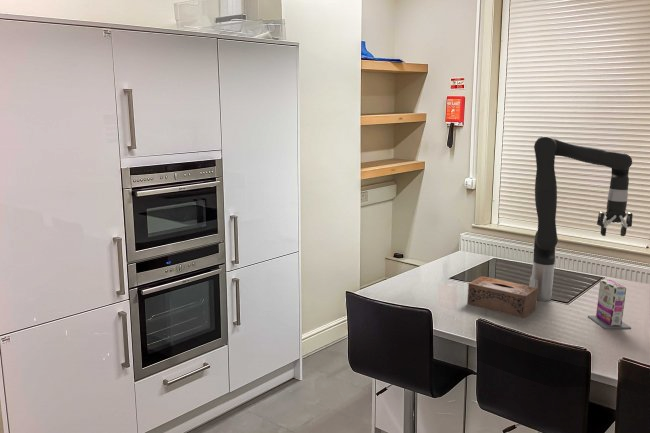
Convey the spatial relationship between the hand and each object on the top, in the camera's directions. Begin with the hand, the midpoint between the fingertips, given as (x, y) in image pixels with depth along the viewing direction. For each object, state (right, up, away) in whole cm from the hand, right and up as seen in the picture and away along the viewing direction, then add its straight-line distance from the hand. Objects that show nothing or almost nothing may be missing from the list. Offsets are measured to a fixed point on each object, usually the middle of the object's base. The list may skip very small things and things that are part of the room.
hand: (612, 235), depth 242 cm
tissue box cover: (-48, -32, +5) cm, 58 cm away
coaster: (-8, -36, -13) cm, 39 cm away
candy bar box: (-8, -35, -13) cm, 38 cm away
